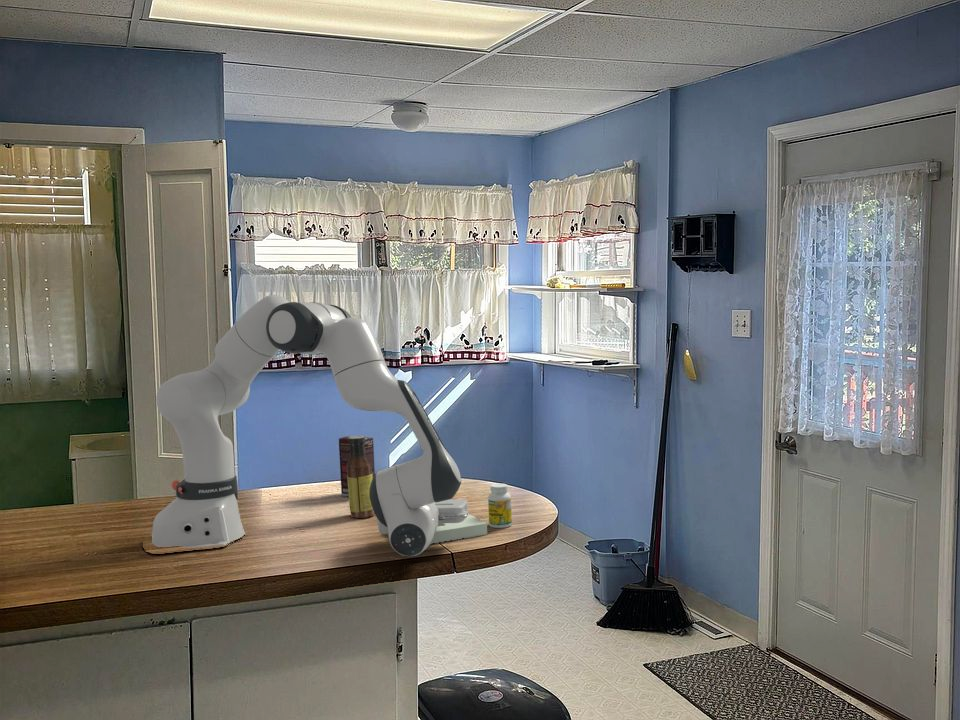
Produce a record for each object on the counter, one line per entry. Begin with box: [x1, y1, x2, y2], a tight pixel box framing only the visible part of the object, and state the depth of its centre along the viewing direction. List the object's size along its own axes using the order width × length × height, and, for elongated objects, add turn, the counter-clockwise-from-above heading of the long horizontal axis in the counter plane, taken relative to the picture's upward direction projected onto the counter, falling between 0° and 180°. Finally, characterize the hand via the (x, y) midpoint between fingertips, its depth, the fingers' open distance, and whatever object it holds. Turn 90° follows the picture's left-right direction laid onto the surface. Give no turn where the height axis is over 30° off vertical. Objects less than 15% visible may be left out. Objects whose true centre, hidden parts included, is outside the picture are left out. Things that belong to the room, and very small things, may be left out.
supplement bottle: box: [487, 482, 513, 529], centre depth 216 cm, size 5×5×10 cm
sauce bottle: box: [347, 435, 375, 519], centre depth 227 cm, size 7×6×20 cm
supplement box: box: [338, 435, 376, 498], centre depth 248 cm, size 9×5×16 cm, turn 58°
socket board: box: [430, 513, 488, 545], centre depth 211 cm, size 18×14×3 cm
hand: (425, 501), depth 210 cm, fingers open, 8 cm apart
